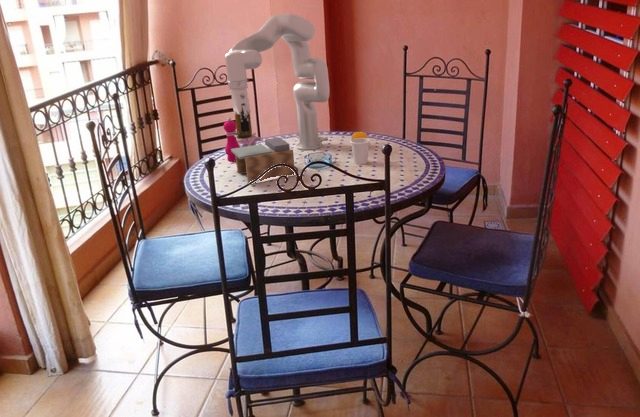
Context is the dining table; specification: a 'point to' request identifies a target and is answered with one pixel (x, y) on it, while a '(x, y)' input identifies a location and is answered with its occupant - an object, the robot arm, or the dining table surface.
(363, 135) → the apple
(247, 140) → the lily
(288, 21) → the robot arm
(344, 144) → the dining table surface
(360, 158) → the dixie cup
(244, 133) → the condiment
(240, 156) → the trapdoor
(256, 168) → the stand
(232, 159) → the pepper mill
